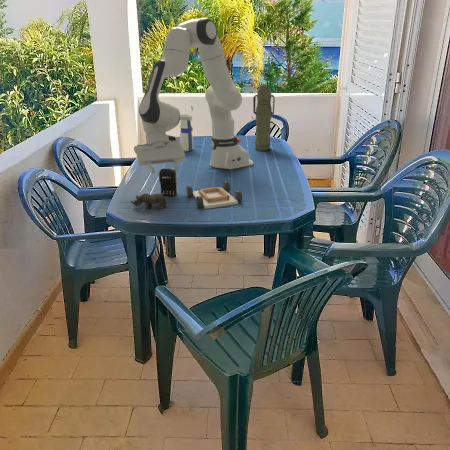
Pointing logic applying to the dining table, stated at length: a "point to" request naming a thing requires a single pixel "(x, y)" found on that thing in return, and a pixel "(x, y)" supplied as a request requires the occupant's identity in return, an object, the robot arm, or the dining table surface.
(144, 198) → the rhino figurine
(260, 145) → the thermos
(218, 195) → the chassis
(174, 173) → the battery charger
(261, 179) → the dining table surface
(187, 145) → the water bottle
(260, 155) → the dining table surface
